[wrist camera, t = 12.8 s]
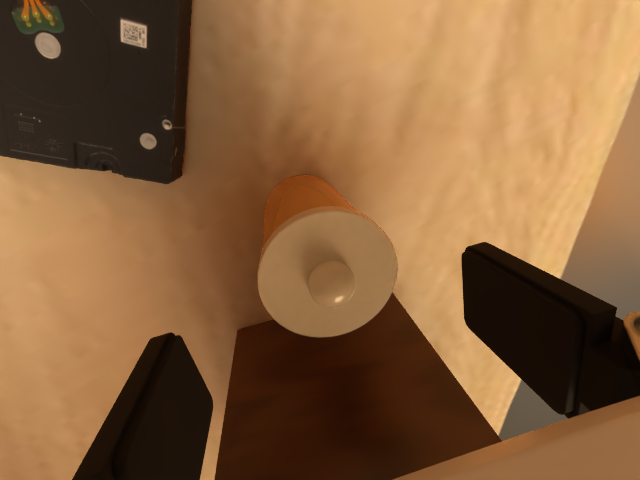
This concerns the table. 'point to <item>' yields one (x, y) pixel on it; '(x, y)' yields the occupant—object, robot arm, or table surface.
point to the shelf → (344, 404)
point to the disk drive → (96, 84)
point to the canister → (322, 260)
